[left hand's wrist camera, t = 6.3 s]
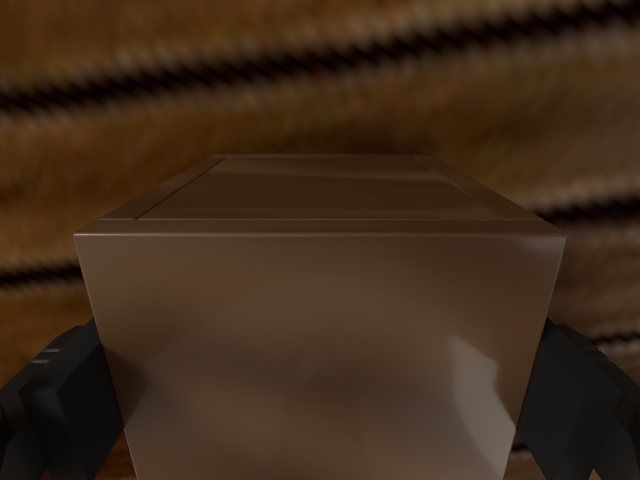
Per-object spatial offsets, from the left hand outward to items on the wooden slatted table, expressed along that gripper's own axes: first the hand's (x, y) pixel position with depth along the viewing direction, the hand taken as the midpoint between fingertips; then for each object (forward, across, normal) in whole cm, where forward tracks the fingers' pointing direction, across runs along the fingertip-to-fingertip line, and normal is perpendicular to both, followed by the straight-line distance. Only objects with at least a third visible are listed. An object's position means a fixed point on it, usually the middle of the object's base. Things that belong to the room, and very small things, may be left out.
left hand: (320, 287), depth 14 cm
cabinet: (+6, 0, -6) cm, 8 cm away
